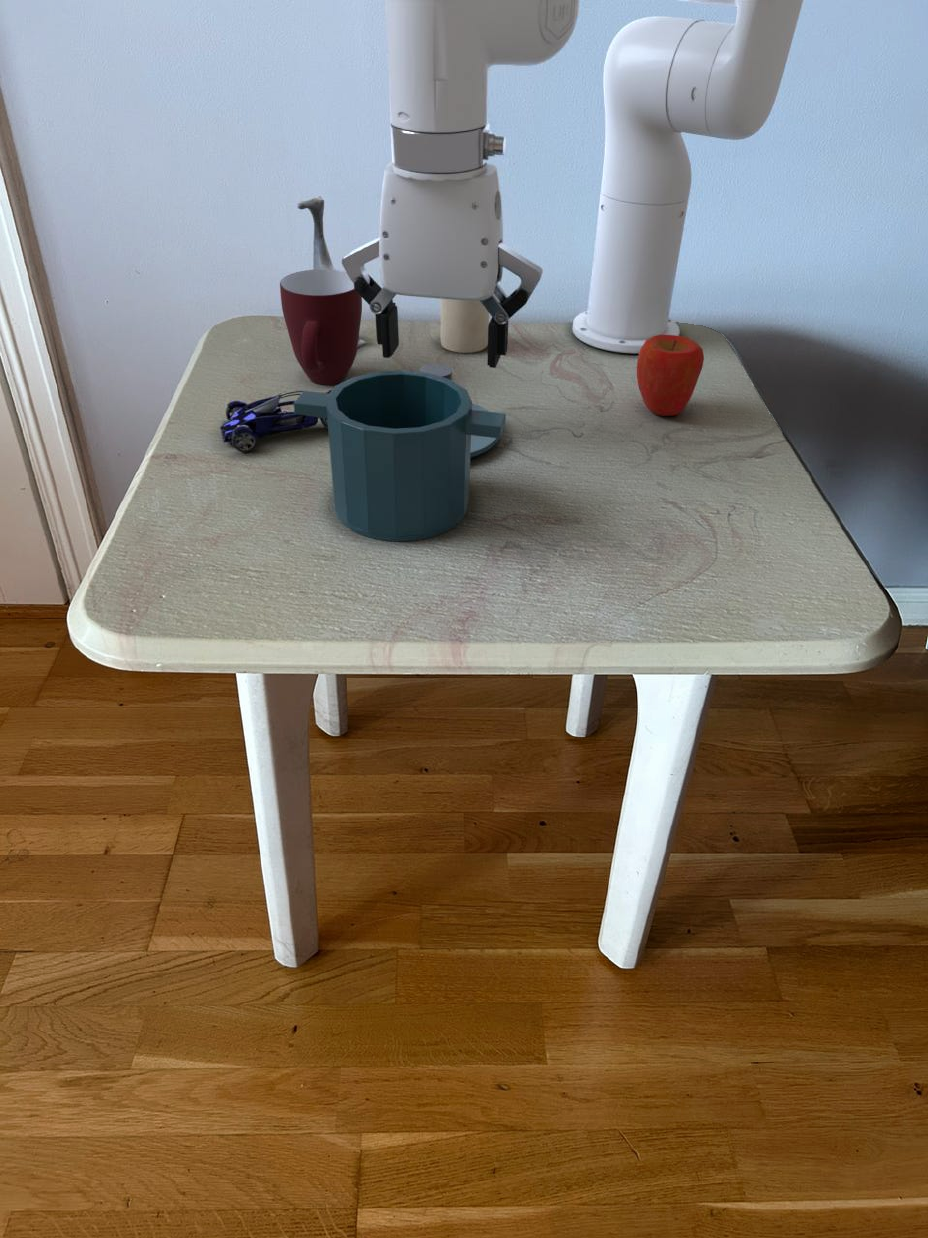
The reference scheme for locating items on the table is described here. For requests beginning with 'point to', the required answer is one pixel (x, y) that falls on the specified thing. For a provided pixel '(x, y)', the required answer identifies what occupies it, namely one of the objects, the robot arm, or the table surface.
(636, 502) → the table surface
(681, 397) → the apple
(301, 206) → the figurine
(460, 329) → the candle
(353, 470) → the pot
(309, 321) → the mug
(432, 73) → the robot arm
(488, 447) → the lid
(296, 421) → the toy car
